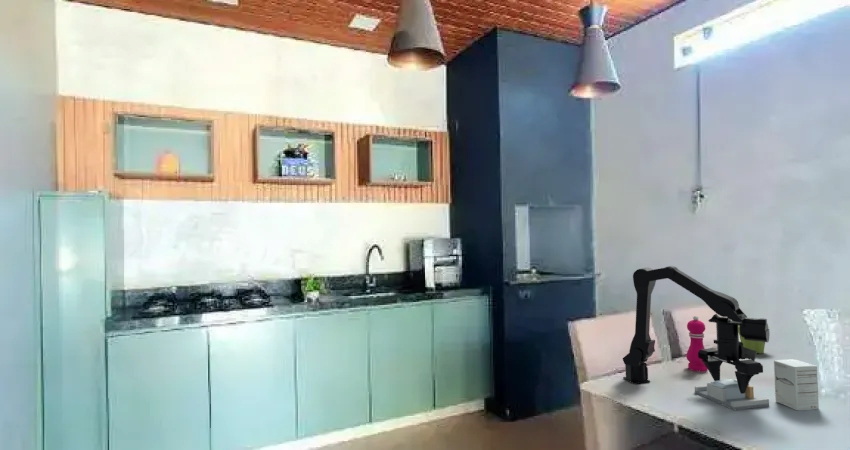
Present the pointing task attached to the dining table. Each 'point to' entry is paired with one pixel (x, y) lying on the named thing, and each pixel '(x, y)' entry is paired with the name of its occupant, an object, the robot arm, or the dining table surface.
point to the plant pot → (752, 344)
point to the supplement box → (796, 384)
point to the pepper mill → (695, 345)
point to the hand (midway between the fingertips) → (729, 388)
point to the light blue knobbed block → (729, 388)
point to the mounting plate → (735, 404)
